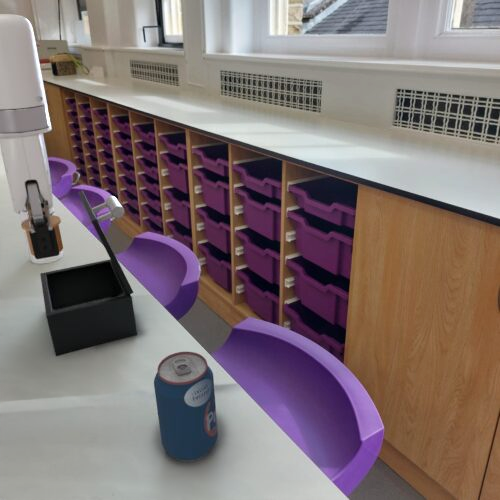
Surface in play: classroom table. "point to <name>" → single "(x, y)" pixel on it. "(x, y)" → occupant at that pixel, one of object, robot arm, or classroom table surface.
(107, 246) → the lid
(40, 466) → the classroom table surface
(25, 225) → the cylinder
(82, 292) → the black hinged storage box
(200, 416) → the soda can
